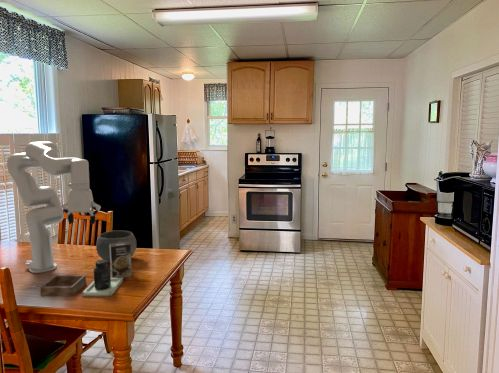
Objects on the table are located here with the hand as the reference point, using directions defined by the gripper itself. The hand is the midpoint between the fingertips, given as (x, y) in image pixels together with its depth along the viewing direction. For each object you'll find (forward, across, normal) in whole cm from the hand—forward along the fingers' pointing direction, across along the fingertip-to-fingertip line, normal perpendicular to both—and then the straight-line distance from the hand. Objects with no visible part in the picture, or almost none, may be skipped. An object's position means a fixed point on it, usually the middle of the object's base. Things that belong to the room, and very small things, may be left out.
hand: (81, 223), depth 175 cm
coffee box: (+28, +15, +6) cm, 32 cm away
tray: (+27, +12, -9) cm, 31 cm away
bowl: (+28, +6, +27) cm, 40 cm away
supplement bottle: (+27, +12, -9) cm, 31 cm away
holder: (+28, -5, -10) cm, 30 cm away
